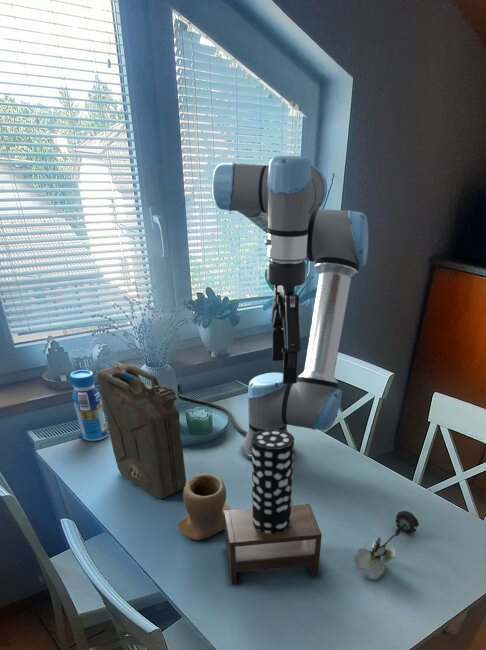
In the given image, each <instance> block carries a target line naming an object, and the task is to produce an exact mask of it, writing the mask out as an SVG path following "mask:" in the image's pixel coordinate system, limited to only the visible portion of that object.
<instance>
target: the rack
mask: <svg viewBox="0 0 486 650" xmlns="http://www.w3.org/2000/svg"><path fill="white" fill-rule="evenodd" d="M224 520H225V529H224V537H225V553H226V558H227V563H228V571H229V575H230V576H229V577H230V582H231V583H230V584H231V585H237V584H238V577H237V573H244V572H254V571H265V570H274V569H275V570H276V569H284V568H286V569H287V568H295V567H307V566H308V567H309V571H310V573H311V576H312V577H318V575H319V565H320V555H321V545H322V538H323V537H322V535H323V534H322V531H321V529H320V525H319V524H318V522H317V519H316V516H315V514H314V511H313V509H312V506H311V504H310V503H301V504H291V519H290V526H289V527H288V528H287V529H286V530H284V531H282V532H279V533H265V532H262V531H259V530H258V529H256V528H255V527H254V525H253V507H252V508H241V509H239V508H238V509H230V510H227V511H224Z"/></svg>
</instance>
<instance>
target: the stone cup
mask: <svg viewBox="0 0 486 650" xmlns="http://www.w3.org/2000/svg"><path fill="white" fill-rule="evenodd" d="M182 493H183V494H182V497H183V506H184V508H185V510H186V512H187V514H188V515H187V516H185V517H184V518H182V519H180V521H178V523H177V527H178V530H179V531H180V533H181V534H182V535H183V536H185V537H186V538H188V539H191V540H194V541H202V540H205V539H207V538H210V537H212V536H214V535H216V534H217V533H219V532H221V531H223V530H225V520H224V511H227V510H231V508H230V505H229V504H228V503H227V502H226V500H227V488H226V485H225V483H224V481H223V479H222V478H221V477H220V476H218V475H216V474H212V473H199V474H197V475H194V476H193V477H191V479H189V480H188V481H186V483H185V487H184V488H183V492H182Z"/></svg>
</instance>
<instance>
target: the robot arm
mask: <svg viewBox="0 0 486 650" xmlns="http://www.w3.org/2000/svg"><path fill="white" fill-rule="evenodd" d="M311 162H312V161H311V160H310V159H309V157H307V156H301V155H275V156H272V157H271V158H270V160H269V163H268V165H267V164H266V165H264V164H252V163H251V164H250V163H248V164H247V163H235V162H229V163H219V164H217V166H216V167H215V168H214V170H213V174H212V181H211V185H212V186H211V191H212V197H213V201H214V203H215V205H216V207H217V208H218V209H219V210H223V211H228V212H238V213H239V214H241V215H243V216H244V217H246V218H247V219H248V220H249V221H251V222H252V223H253V224H255V225H256V227H258V228H259V229H260V230H262V231H263V232H264V233H266V234H267V237H268V239H265V240H264V246H266V247H267V257H268V258H269V260H268V261H267V266H266V267H267V271H266V272H267V278H266V279H267V282H268V283H269V284H270V285H273V295H272V296H273V297H272V305H271V315H270V316H271V317H270V323H271V328H272V335H271V336H272V339H271V344H272V345H271V360H272V362H279V361H280V362H281V361H283V362H282V363H283V364H282V371H283V372H265V373H261V374H259V375H257V376H255V377H253V378H252V379H250V381H249V383H248V389H247V390H248V391H247V393H248V394H247V405H248V406H247V409H248V411H247V412H248V429H247V431H246V430H244V429H242V428H241V427H240V426H239V425H238V424H237V423H236V420H235V419H234V417H233V416H232V414H231V412H230V410H229V409H227V408H226V407H223V406H222V405H220V404H217V403H214V402H211V401H207V400H203V399H198V398H194V397H190V396H188V395H183V394H180V393H179V396H178V397H179V398H180V399H184V400H187V401H191V402H195V403H199V404H205V405H208V406H212V407H214V408H217V409H220V410H221V411H223V412H225V414H227V416H228V418H229V420H230V422H231V423H232V425H233V426H234V428H235V429H236V430H237V431H238V432H240V433H242V434H244V435H245V438H244V441H243V445H242V450H243V455H244V456H245V457H246V458H248V459H249V460H251V461H252V436H253V435H254V434H255V433H257V432H258V431H261V430H266V429H279V430H284V431H286V432H289V431H288V426H293V427H298V428H305V429H309V430H310V429H311V430H313V431H315V430H317V431H318V430H319V431H327V430H329V429H331V427H332V426H333V425H334V423H335V421H336V418H337V416H338V413H339V410H340V407H341V402H342V397H343V392H342V390H341V389H340V388H338V387H339V381H338V380H337V378H336V377H335V371H336V366H337V360H338V355H339V350H340V344H341V338H342V332H343V327H344V320H345V314H346V310H347V303H348V299H349V298H348V297H349V293H350V287H351V281H352V280H353V279H354V278H355V277H357V276H358V275H359V269H360V268H362V267H365V266H366V264H367V260H368V252H369V222H368V218H367V215H366V214H365V213H363V212H360V211H353V210H351V209H348V210H342V209H329V208H327V209H325V208H321V207H322V206H323V204H324V203H325V201H326V198H327V193H328V183H327V179H326V177H325V175H324V173H323V171H321V169H319V168H318V167H316V166H314V165H312V163H311ZM306 262H314V270H315V271H316V273H317V274H318V281H317V286H316V293H315V299H314V305H313V312H312V319H311V324H310V330H309V331H310V332H309V337H308V343H307V351H306V357H305V362H304V368H303V371H302V372H301V373H300V374H299V375H298V376H297V370H298V369H297V368H298V353H300V352H301V336H300V335H301V333H300V312H299V311H300V310H299V309H300V297H299V295H297V294H296V291H295V288H296V287H297V286H302V285H303V284H304V283H305V282H306V275H307V274H306V271H307V263H306Z"/></svg>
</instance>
